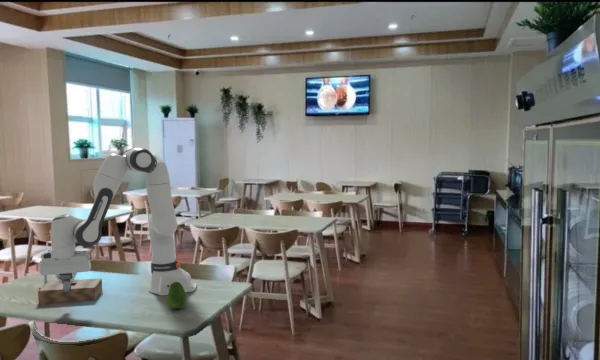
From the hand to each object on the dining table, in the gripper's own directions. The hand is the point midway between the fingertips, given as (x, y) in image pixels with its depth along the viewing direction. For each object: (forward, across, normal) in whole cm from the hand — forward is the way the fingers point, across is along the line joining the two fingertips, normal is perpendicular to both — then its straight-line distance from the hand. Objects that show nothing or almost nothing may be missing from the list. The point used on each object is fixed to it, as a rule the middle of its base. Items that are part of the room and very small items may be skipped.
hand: (66, 282), depth 201 cm
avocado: (+13, -47, +11) cm, 50 cm away
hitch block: (+11, +3, -15) cm, 19 cm away
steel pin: (+4, 0, 0) cm, 4 cm away
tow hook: (+12, +17, -31) cm, 37 cm away
